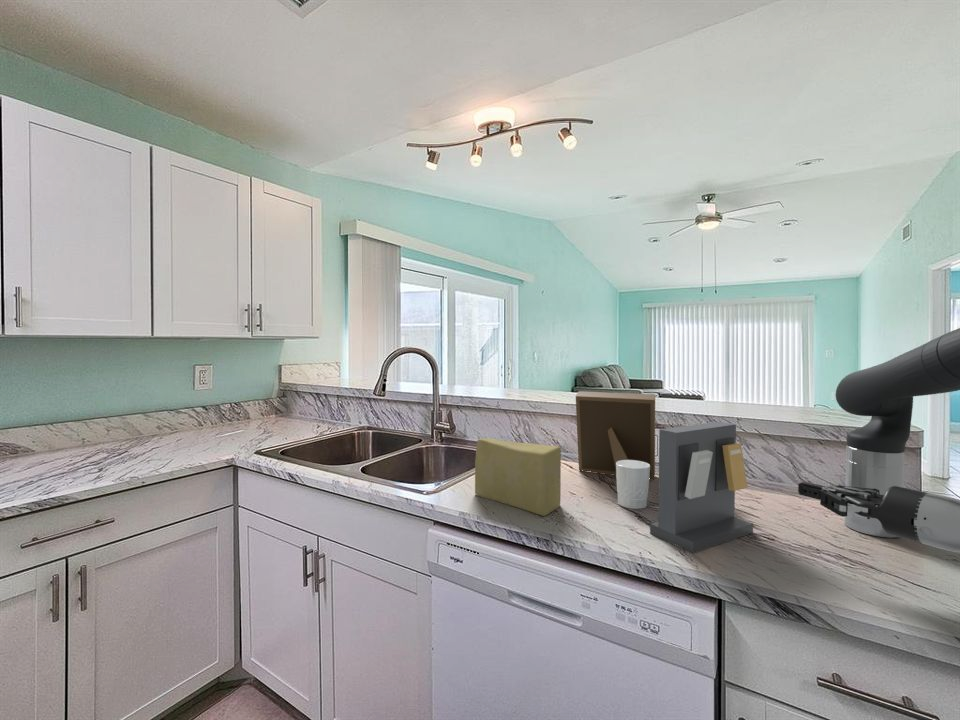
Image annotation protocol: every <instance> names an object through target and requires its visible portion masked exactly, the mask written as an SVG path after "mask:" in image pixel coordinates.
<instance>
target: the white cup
mask: <svg viewBox="0 0 960 720" xmlns="http://www.w3.org/2000/svg"><path fill="white" fill-rule="evenodd" d="M649 474H650V465H649V464H648V463H646V462H642V461H637V460H620V461H617V462H616V475H615V479H616V491H617V503H618V505H619V506H622V507H623V508H627V509H632V510H642V509H644V508H645V509H646V508H647V506H648V495H649V487H650V479H649Z"/></svg>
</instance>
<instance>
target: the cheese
mask: <svg viewBox="0 0 960 720" xmlns="http://www.w3.org/2000/svg"><path fill="white" fill-rule="evenodd" d="M561 453H562V450H561V447H560V446H557V445H547V444H539V443H529V442H517V441H516V442H515V441H507V440H502V439H501V440H499V439H493V438H487V437H486V438H485V437H483V438H480V439H477V442H476V447H475V462H474V494H475V495H476V496H477V495H478V496H477V497H480V496H481V498H484V499H487V498H488V500H490V501H495V502H499V503H501V504H504V505H508V506H510V507H515V508H518V509H522V510H523V511H527V512H530V513H533V514H536V515H538V516H541V517H545V516H547V515H550V514H551V513H552V512H554V511H555V510H556V509H557V508H560V507H559V506H561V497H562V496H561V491H562V490H561V489H562V488H561V485H562V484H561V478H562V476H561V467H562V466H561V465H562V463H561V462H562V461H561V457H562V455H561Z"/></svg>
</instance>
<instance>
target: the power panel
mask: <svg viewBox="0 0 960 720" xmlns="http://www.w3.org/2000/svg"><path fill="white" fill-rule="evenodd" d="M658 434H659V436H658V441H659V443H658V505H657V506H658V507H657V509H658V511H657V513H658V515H657V516H658V518H657V521H656V522H652V523H649V533H650V535H653V536H655V537H657V538H660V539H661V540H664V541H666V540H667V541H666V542H668V541H669V542H668V543H670V542H671V543H670V544H672V543H673V545H674V544H676V545H675V546H677V545H678V546H677V547H679V546H680V547H679V548H681V547H682V548H681V549H683V548H684V550H685V549H686V550H685V551H688V552H690V551H691V553H692V554H693V553H694V554H695V553H697V552H701V551H704V550H706V549H708V548H711V547H715V546H718V545H721V544H724V543H727V542H729V541H733V540H736V539H739V538H741V537H745V536H748V535H750V534H753V533H754V523H753V522H751V521H748V520H745V519H742V518H739V517H737V516H735V510H736V509H735V507H736V506H735V505H736V504H735V501H736V500H735V499H736V498H735V497H736V496H735V495H736V493H735V492H736V491H730V490H729V488H728V481H727V474H726V468H725V461H724V454H723V447H722V446H723V445H728V444H734V443H737V441H736V439H737V437H736V436H737V424H736V423H729V422H722V421H711V422H705V423H699V424H690V425H685V426H684V425H683V426H675V427H674V426H673V427H668V428H659V431H658ZM704 450H709V451H711V452H713V454H712V460H711V465H710V470H709V476H708V481H707V486H706V491H705V495H704V496H700V497H696V498H692V499H689V498H687V497H685V492H686V486H687V480H688V475H689V469H690V464H691V458H692V453H693V452H699V451H704Z"/></svg>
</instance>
